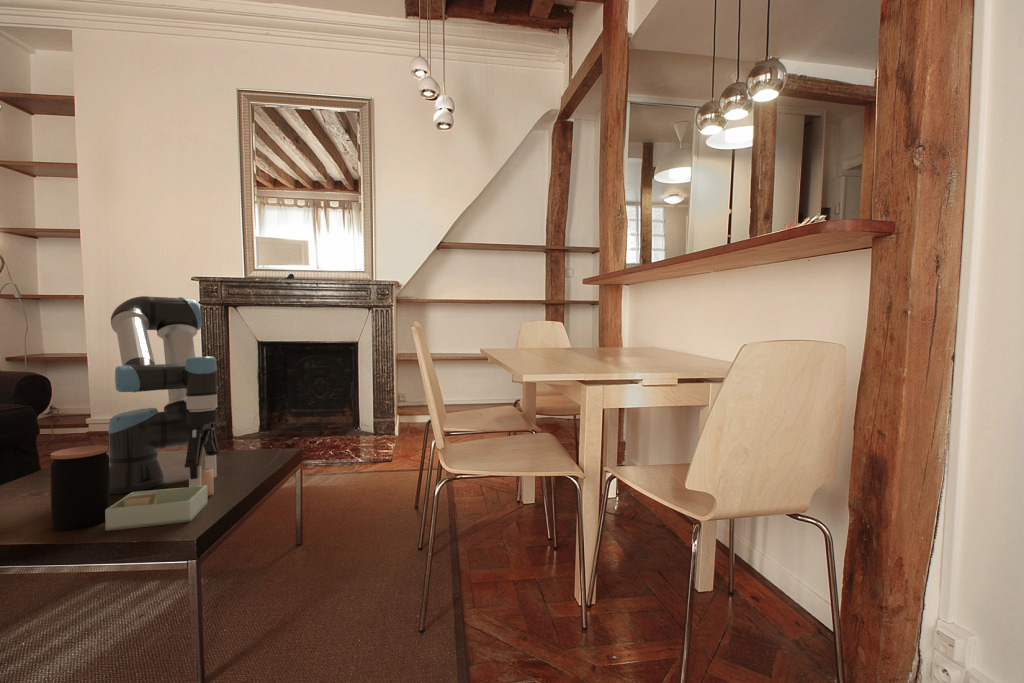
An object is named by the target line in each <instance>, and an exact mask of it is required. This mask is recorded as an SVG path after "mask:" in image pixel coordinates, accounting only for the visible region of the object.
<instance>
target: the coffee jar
mask: <svg viewBox="0 0 1024 683" xmlns="http://www.w3.org/2000/svg"><path fill="white" fill-rule="evenodd" d="M107 453H109V445H105V444H104V445H103V444H102V445H100V444H97V445H96V444H95V445H94V444H93V445H84V446H83V445H82V446H75V447H69V448H63V449H59V450H56V451H52V452H51V453H50V458H51V460H52V462H51V463H50V513H51V514H50V520H51V526H52V527H53V528H54V529H56V530H57V531H72V530H79V529H83V528H89V527H92V526H95V525H97V524H100V523H102V522H104V521H105V510H106V509H107V508H109V507H110V506H111V500H110V499H111V496H110V495H111V494H110V481H109V454H107Z"/></svg>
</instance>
